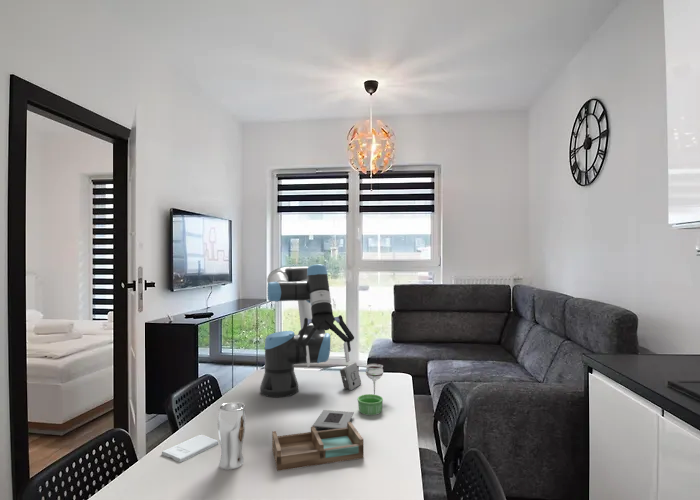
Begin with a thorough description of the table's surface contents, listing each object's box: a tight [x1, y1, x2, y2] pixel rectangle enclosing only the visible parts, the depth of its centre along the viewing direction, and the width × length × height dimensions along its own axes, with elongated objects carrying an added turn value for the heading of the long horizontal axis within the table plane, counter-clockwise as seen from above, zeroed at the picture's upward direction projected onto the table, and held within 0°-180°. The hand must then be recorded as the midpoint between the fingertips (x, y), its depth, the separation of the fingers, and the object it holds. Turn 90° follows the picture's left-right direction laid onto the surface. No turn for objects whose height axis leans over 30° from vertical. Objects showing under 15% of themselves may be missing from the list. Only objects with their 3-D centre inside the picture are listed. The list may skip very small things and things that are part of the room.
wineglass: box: [365, 363, 384, 395], centre depth 156 cm, size 7×7×12 cm
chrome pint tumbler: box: [217, 401, 247, 471], centre depth 106 cm, size 7×7×15 cm
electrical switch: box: [339, 362, 362, 391], centre depth 169 cm, size 9×5×9 cm, turn 152°
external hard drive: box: [161, 433, 219, 463], centre depth 115 cm, size 2×8×12 cm
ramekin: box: [356, 393, 384, 416], centre depth 143 cm, size 9×9×4 cm
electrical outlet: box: [311, 409, 354, 430], centre depth 132 cm, size 13×10×2 cm
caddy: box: [271, 421, 365, 472], centre depth 112 cm, size 12×23×5 cm, turn 107°
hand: (328, 363), depth 139 cm, fingers open, 13 cm apart
